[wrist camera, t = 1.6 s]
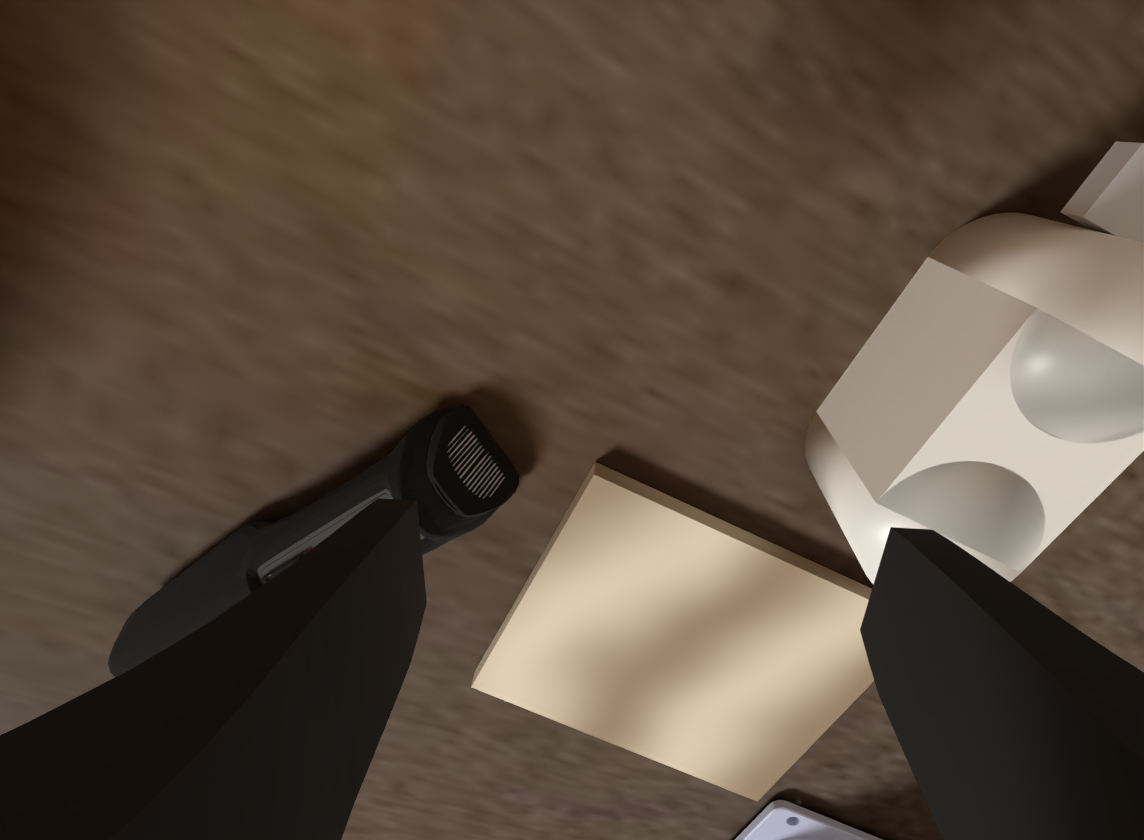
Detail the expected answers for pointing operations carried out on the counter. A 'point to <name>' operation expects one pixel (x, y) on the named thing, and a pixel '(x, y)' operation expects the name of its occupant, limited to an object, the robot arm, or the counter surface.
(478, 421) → the electric trimmer
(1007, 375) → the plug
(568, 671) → the cutting board
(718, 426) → the counter surface
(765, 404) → the counter surface
